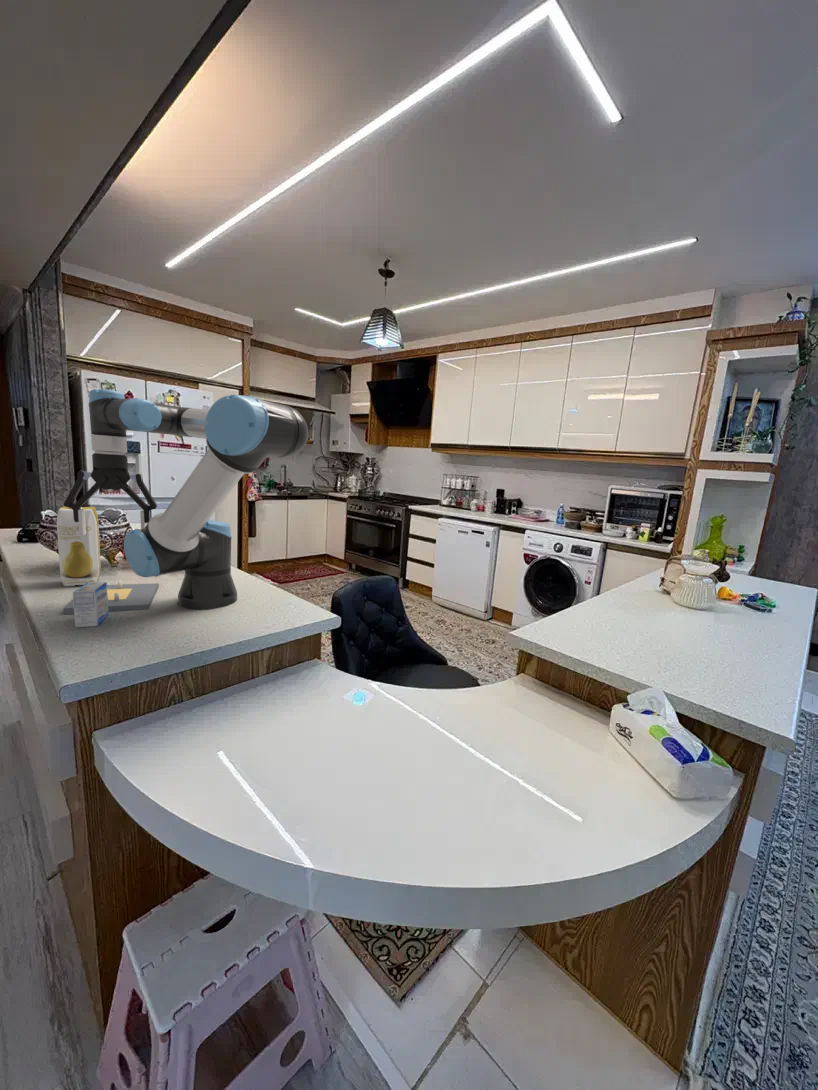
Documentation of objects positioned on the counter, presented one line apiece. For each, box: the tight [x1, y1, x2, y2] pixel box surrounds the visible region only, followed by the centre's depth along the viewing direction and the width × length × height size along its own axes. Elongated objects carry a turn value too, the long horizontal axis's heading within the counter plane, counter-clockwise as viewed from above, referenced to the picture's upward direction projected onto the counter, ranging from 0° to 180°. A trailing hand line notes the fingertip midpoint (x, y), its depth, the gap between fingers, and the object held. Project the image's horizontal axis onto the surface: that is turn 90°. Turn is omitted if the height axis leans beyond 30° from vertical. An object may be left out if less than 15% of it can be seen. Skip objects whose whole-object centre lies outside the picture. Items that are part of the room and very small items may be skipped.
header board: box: [63, 581, 160, 615], centre depth 119 cm, size 18×20×4 cm
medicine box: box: [72, 581, 109, 628], centre depth 103 cm, size 8×4×9 cm, turn 18°
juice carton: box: [56, 505, 102, 587], centre depth 128 cm, size 9×8×24 cm
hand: (113, 534), depth 116 cm, fingers open, 13 cm apart
